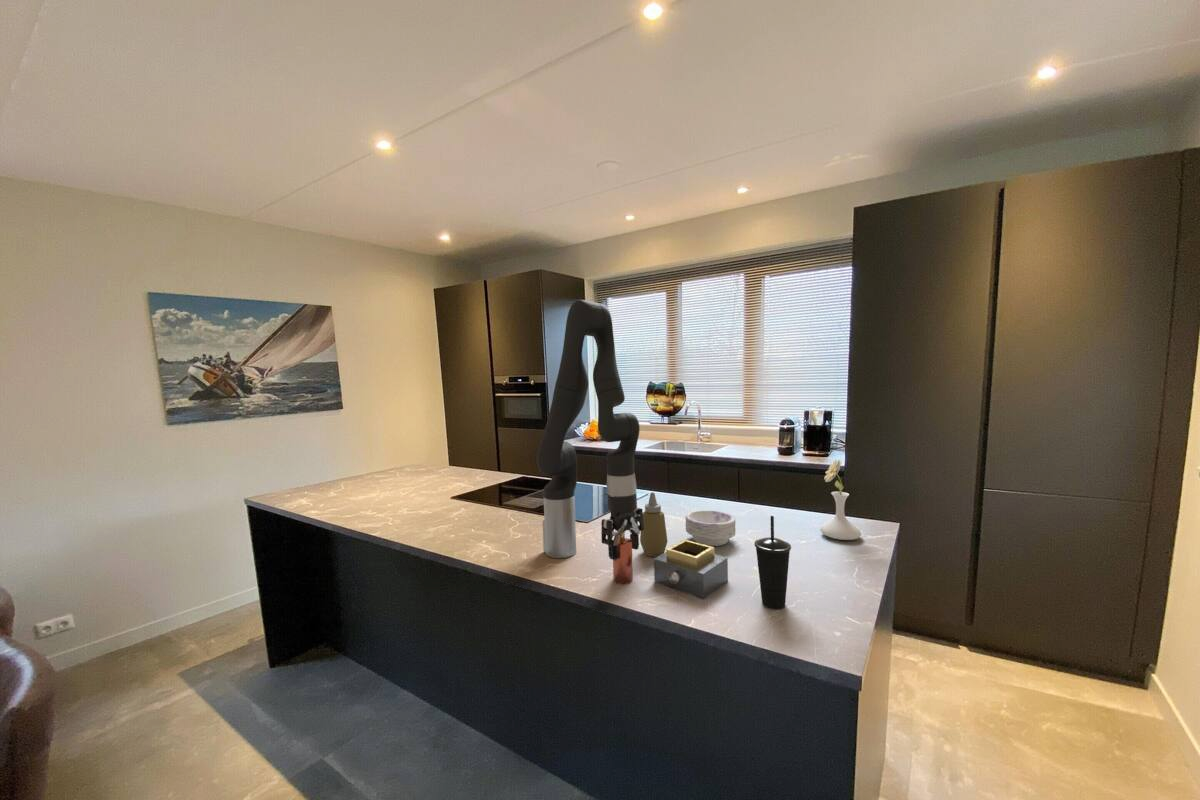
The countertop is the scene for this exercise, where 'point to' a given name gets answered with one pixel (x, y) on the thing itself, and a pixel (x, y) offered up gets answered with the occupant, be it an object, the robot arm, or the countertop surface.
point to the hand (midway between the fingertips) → (624, 553)
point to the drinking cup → (773, 569)
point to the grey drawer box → (691, 569)
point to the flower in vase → (839, 511)
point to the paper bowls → (710, 527)
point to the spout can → (623, 561)
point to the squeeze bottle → (653, 529)
